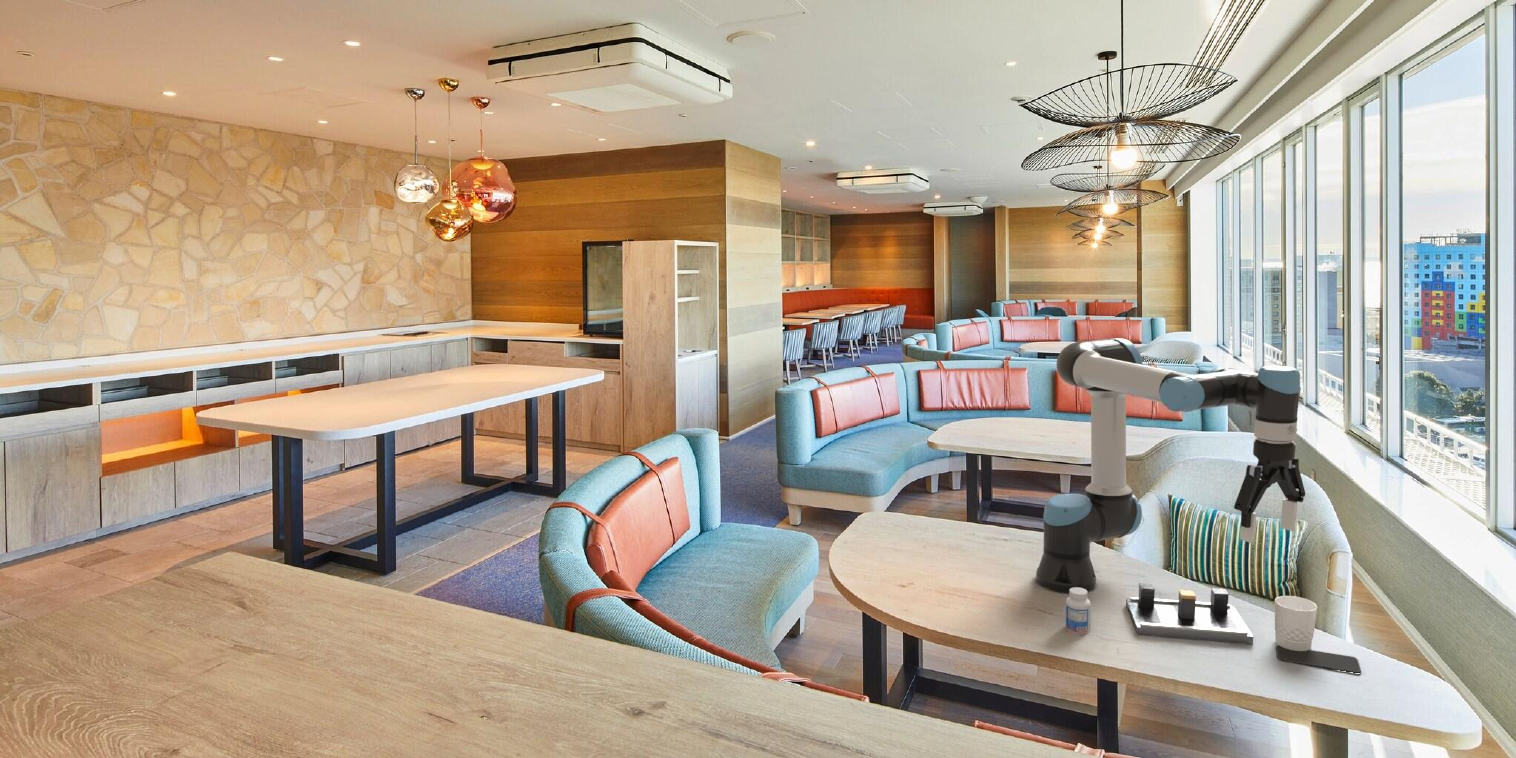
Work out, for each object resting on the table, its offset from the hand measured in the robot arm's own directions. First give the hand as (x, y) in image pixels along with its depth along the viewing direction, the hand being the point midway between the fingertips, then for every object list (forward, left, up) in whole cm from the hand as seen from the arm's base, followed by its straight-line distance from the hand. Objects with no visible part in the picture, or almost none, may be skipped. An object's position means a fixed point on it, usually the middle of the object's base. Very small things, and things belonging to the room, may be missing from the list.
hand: (1267, 535), depth 177 cm
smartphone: (+8, +7, -27) cm, 29 cm away
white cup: (+1, +9, -27) cm, 28 cm away
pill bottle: (-24, -29, -27) cm, 46 cm away
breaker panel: (-16, -4, -27) cm, 32 cm away
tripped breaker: (-16, -4, -25) cm, 30 cm away
